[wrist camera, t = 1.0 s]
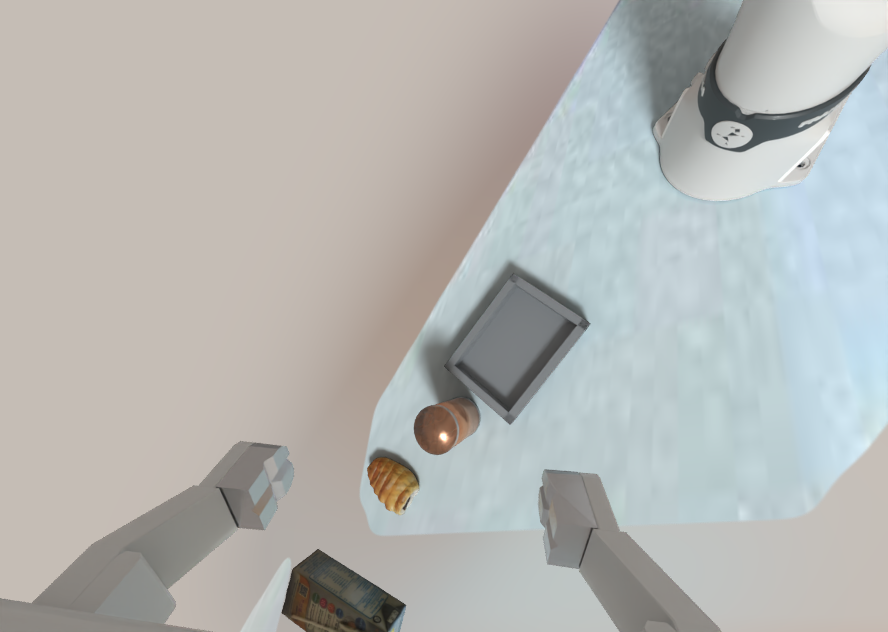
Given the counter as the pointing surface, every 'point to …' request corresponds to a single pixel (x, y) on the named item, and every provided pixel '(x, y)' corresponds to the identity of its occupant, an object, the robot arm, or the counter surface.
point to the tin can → (446, 424)
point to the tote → (515, 347)
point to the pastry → (392, 484)
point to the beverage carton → (338, 599)
